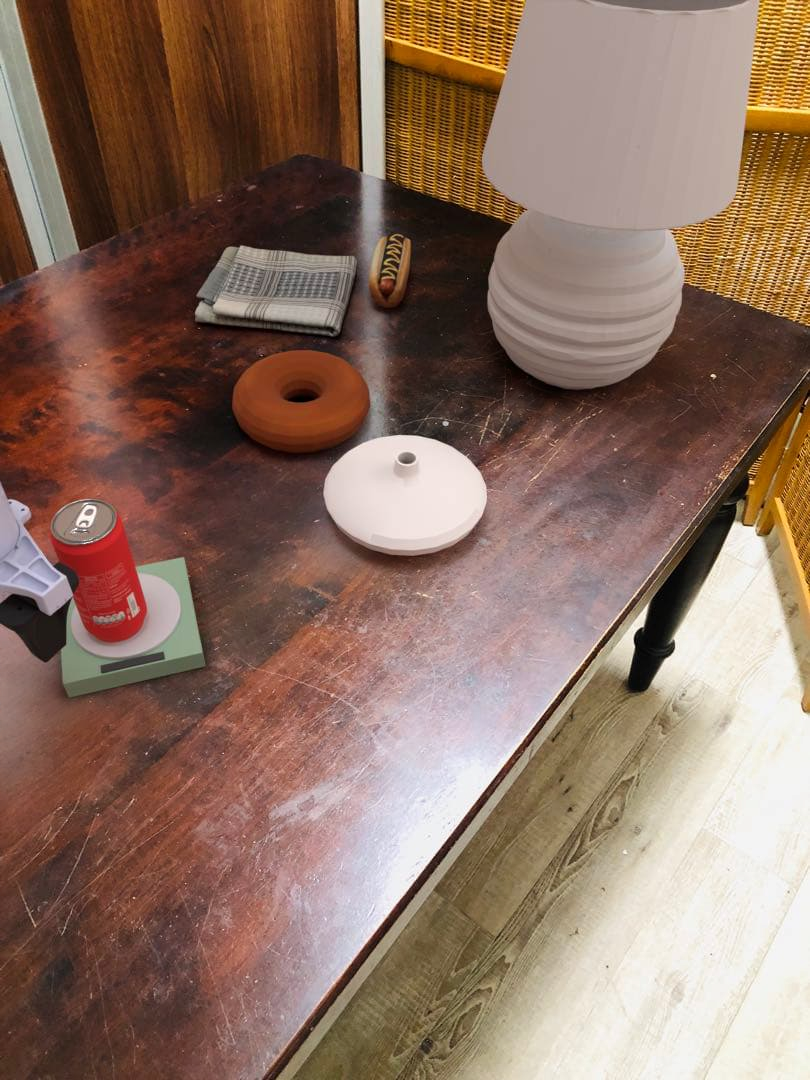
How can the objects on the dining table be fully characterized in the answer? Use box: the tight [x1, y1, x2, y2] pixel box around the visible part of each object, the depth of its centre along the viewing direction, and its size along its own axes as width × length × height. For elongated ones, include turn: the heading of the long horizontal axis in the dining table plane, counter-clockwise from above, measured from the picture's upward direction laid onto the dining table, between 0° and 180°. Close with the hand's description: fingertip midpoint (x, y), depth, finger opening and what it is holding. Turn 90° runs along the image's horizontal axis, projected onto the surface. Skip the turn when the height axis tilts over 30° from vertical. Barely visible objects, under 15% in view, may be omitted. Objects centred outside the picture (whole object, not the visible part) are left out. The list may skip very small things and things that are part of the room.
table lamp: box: [481, 0, 760, 391], centre depth 90 cm, size 25×25×40 cm
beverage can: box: [49, 498, 147, 643], centre depth 69 cm, size 5×5×12 cm
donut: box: [231, 349, 371, 454], centre depth 94 cm, size 15×15×5 cm
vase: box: [323, 434, 488, 557], centre depth 84 cm, size 16×16×7 cm
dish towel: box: [194, 245, 358, 337], centre depth 112 cm, size 19×18×3 cm
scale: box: [60, 556, 207, 698], centre depth 75 cm, size 11×11×2 cm
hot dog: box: [368, 231, 412, 308], centre depth 113 cm, size 5×13×5 cm, turn 175°
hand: (14, 627), depth 63 cm, fingers open, 7 cm apart
